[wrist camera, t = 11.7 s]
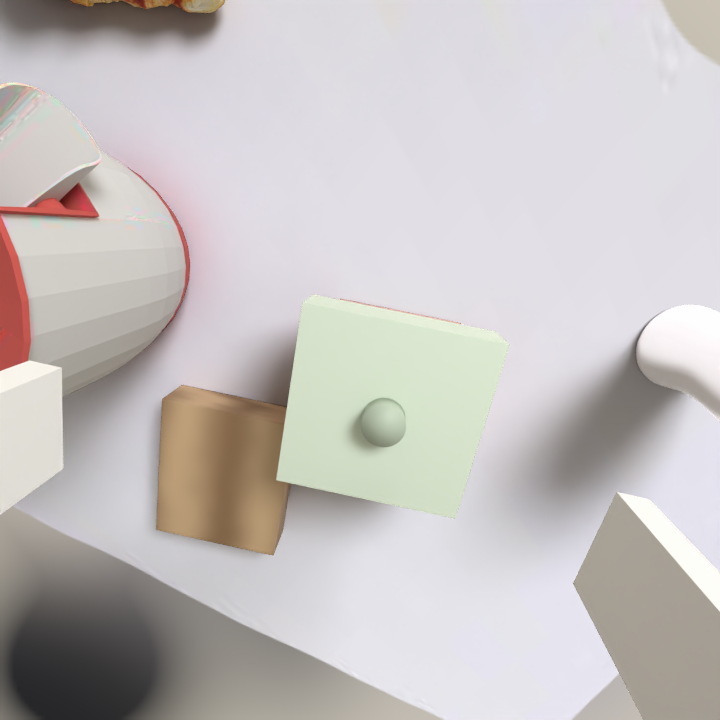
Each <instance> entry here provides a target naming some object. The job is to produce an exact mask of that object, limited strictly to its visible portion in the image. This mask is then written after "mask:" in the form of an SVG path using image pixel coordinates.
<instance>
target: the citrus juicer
mask: <svg viewBox="0 0 720 720" xmlns="http://www.w3.org/2000/svg"><path fill="white" fill-rule="evenodd" d="M189 272H190V259H189V251H188V246H187V242H186V239H185V236H184V233H183V230H182V228H181V226H180V224H179V222H178V220H177V218H176V216H175V215H174V213H173V212H172V211H171V209H170V208H169V207H168V205H167V204H166V203H165V201H164V200H163V199H162V197H161V196H160V195H159V194H158V192H157V191H156V190H155V189H154V188H153V187H152V186H150V185H149V184H148V183H147V182H146V181H145V180H144V179H143V178H142V177H141V176H140V175H138V174H137V173H135V172H134V171H132V170H131V169H129V168H128V167H126V166H125V165H123V164H122V163H120V162H119V161H117V160H116V159H114V158H113V157H111V156H110V155H108V154H107V153H105V152H104V151H102V150H100V148H99V147H98V145H97V143H96V141H95V140H94V138H93V137H92V135H91V134H90V132H89V131H88V130H87V129H86V127H85V126H84V125H83V124H82V123H81V121H80V120H79V119H78V118H77V117H76V116H75V115H74V114H73V113H72V112H71V111H70V110H69V109H67V108H66V107H65V106H64V105H63V104H62V103H60V102H59V101H58V100H56V99H55V98H54V97H52V96H51V95H49V94H48V93H46V92H44V91H42V90H40V89H38V88H36V87H33V86H30V85H26V84H22V83H13V82H10V83H4V84H2V85H0V371H2V370H5V369H7V368H10V367H13V366H16V365H18V364H21V363H24V362H27V361H29V360H30V361H34V362H39V363H43V364H48V365H52V366H57V367H61V368H62V397H64V396H66V395H68V394H70V393H73V392H75V391H77V390H79V389H81V388H83V387H85V386H87V385H89V384H91V383H93V382H95V381H97V380H99V379H101V378H103V377H105V376H106V375H108V374H110V373H111V372H113V371H115V370H117V369H118V368H120V367H122V366H123V365H124V364H126V363H127V362H129V361H130V360H131V359H133V358H134V357H135V356H137V355H138V354H139V353H140V352H141V351H143V350H144V349H145V348H146V347H147V346H148V345H150V344H151V343H152V342H153V341H154V339H155V338H156V337H157V336H158V335H159V334H160V332H162V331H163V330H164V329H165V328H166V327H167V325H168V324H169V323H170V322H171V321H172V320H173V318H174V317H175V315H176V313H177V311H178V309H179V307H180V305H181V303H182V301H183V299H184V296H185V292H186V289H187V285H188V281H189Z"/></svg>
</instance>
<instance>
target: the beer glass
mask: <svg viewBox="0 0 720 720" xmlns="http://www.w3.org/2000/svg"><path fill="white" fill-rule="evenodd" d="M636 360H637V363H638V366H639V368H640V370H641V371H642V373H643V374H644V375H645V376H646V377H647V378H648V379H649V380H650V381H652V382H654V383H656V384H658V385H660V386H663V387H667V388H671V389H675V390H678V391H681V392H684V393H686V394H688V395H689V396H691V397H692V398H694V399H695V400H696V401H697V402H698V403H699V404H701V405H702V406H703V407H704V408H705V409H706V410H707V411H708V412H709V413H710V414H711V415H712V416H713V417H714V418H716V419H717V420H718V421H719V422H720V313H719V312H717V311H715V310H713V309H711V308H708V307H705V306H701V305H680V306H676V307H673V308H670V309H668V310H666V311H664V312H662V313H660V314H659V315H657V316H656V317H655V318H653V319H652V320H651V321H650V322H649V323H648V324H647V326H646V327H645V328H644V330H643V331H642V333H641V335H640V337H639V339H638V342H637V347H636Z"/></svg>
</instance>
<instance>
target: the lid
mask: <svg viewBox="0 0 720 720" xmlns="http://www.w3.org/2000/svg"><path fill="white" fill-rule="evenodd" d="M508 348H509V344H508V343H507V342H506V341H505V340H504V339H503V338H502V337H501V336H500V335H499V334H498V333H497V332H496V331H491V330H486V329H481V328H476V327H471V326H466V325H461V324H457V323H452V322H447V321H442V320H437V319H432V318H427V317H422V316H417V315H412V314H407V313H403V312H398V311H393V310H388V309H383V308H378V307H373V306H368V305H363V304H358V303H353V302H349V301H344V300H339V299H334V298H329V297H324V296H319V295H314V294H313V295H312V296H310V297H309V298H308V299H306V300H305V301H304V302H302V309H301V315H300V322H299V329H298V336H297V343H296V349H295V356H294V363H293V370H292V376H291V383H290V390H289V397H288V404H287V410H286V417H285V424H284V431H283V437H282V444H281V451H280V458H279V465H278V471H277V478H276V480H278V481H282V482H287V483H292V484H296V485H301V486H305V487H310V488H315V489H319V490H324V491H329V492H333V493H338V494H343V495H347V496H352V497H357V498H361V499H366V500H371V501H375V502H380V503H384V504H389V505H394V506H398V507H403V508H408V509H412V510H417V511H422V512H426V513H431V514H436V515H440V516H445V517H450V518H454V519H455V518H456V515H457V512H458V509H459V506H460V502H461V499H462V496H463V493H464V490H465V486H466V483H467V480H468V477H469V474H470V470H471V467H472V464H473V461H474V458H475V454H476V451H477V448H478V445H479V441H480V438H481V435H482V432H483V429H484V425H485V422H486V419H487V416H488V413H489V409H490V406H491V403H492V400H493V397H494V393H495V390H496V387H497V384H498V381H499V377H500V374H501V371H502V368H503V365H504V361H505V358H506V355H507V352H508Z"/></svg>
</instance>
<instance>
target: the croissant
mask: <svg viewBox="0 0 720 720" xmlns="http://www.w3.org/2000/svg"><path fill="white" fill-rule="evenodd" d="M69 1H71V2H73V3H78V4H82V5H85V6H87V7H89V6H94V3H99V2H104V3H110V2H112V1H115V2H119V1H120V0H69ZM122 1H124V2H127V3H129V4H131V5H132V6H134V7H141V8H144V9H149V8H153V7H158V6H166V7H167V6H168V5H170V4H175V5H176V6H177V7H180V8H181V9H183V10H184V11H186V12H188V13H189V12H198V13H211V12H214V11H216V10H217V9H218V8H220V7H221V6H222V5H223V4H224V3H225V0H122Z"/></svg>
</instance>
